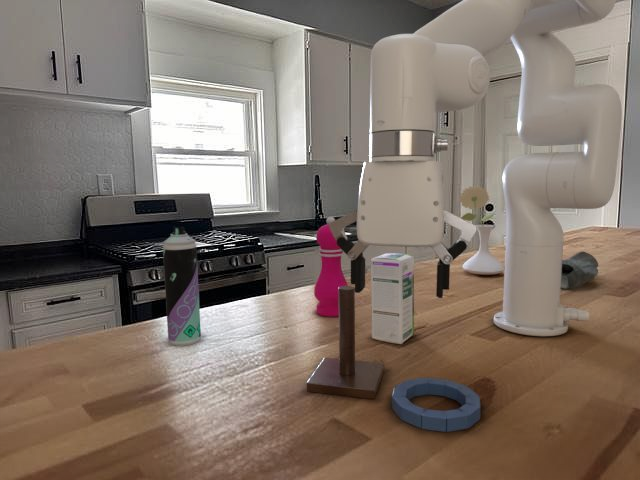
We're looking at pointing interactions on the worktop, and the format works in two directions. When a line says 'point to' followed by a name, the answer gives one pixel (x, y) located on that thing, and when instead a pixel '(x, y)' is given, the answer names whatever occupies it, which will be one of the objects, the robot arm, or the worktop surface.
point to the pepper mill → (329, 272)
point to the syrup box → (392, 297)
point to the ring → (433, 418)
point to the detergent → (578, 270)
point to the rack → (346, 360)
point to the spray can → (181, 288)
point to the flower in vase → (480, 234)
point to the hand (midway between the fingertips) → (398, 292)
